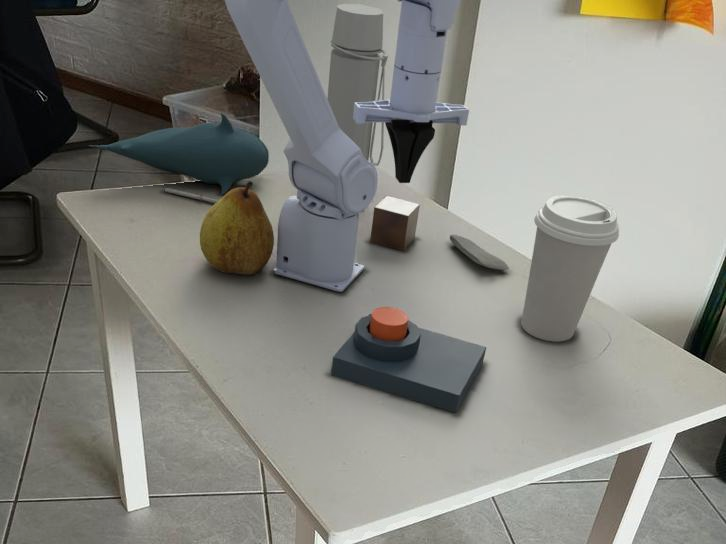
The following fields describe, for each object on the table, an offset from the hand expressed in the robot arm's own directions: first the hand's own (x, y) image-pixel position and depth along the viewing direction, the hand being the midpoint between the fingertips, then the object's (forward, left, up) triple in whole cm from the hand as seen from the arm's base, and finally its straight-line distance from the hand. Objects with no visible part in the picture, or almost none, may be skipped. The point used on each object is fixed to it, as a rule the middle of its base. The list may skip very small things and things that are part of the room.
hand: (402, 180), depth 107 cm
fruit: (-15, -17, -10) cm, 25 cm away
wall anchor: (-31, -1, -10) cm, 32 cm away
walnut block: (-1, +3, -10) cm, 10 cm away
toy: (-31, 0, -4) cm, 32 cm away
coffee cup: (+24, -10, -10) cm, 28 cm away
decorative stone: (+12, +6, -9) cm, 16 cm away
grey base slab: (+12, -28, -10) cm, 32 cm away
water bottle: (-13, +16, -10) cm, 23 cm away
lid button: (+9, -28, -6) cm, 30 cm away
